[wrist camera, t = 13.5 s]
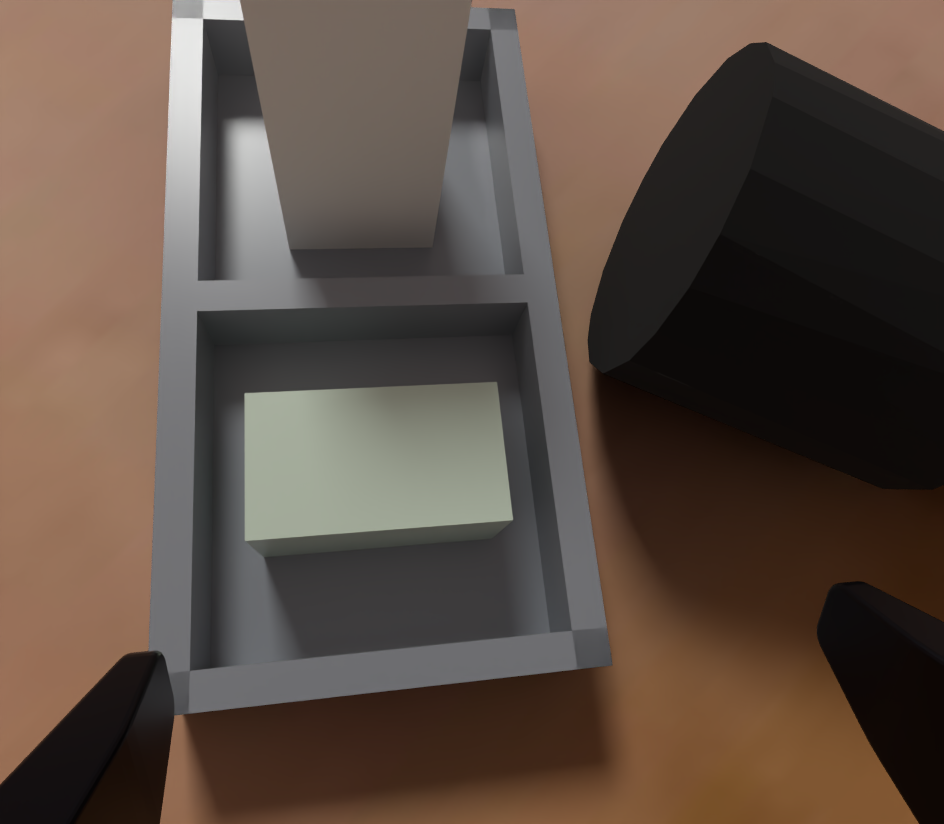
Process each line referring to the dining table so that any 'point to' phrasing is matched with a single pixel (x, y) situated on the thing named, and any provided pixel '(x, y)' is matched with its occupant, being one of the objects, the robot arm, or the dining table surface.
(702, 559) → the dining table surface
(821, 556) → the dining table surface
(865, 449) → the black and white bottle
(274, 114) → the cream block
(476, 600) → the tray
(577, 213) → the dining table surface
